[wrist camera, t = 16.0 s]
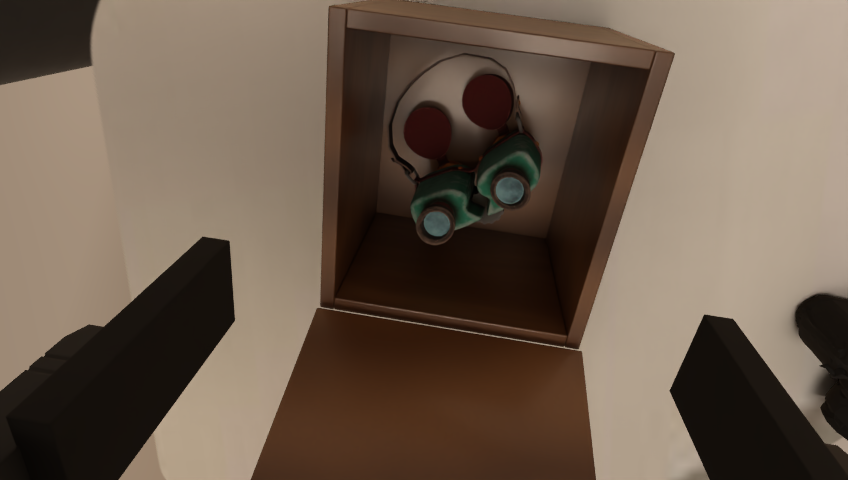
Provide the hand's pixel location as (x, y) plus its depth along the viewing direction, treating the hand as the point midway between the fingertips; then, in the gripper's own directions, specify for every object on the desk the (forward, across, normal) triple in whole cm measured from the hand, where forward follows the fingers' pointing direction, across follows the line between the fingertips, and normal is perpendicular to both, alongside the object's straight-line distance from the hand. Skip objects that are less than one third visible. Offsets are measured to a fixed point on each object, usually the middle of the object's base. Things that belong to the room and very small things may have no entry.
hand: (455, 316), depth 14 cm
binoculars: (+24, -1, -1) cm, 24 cm away
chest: (+24, 0, -1) cm, 24 cm away
